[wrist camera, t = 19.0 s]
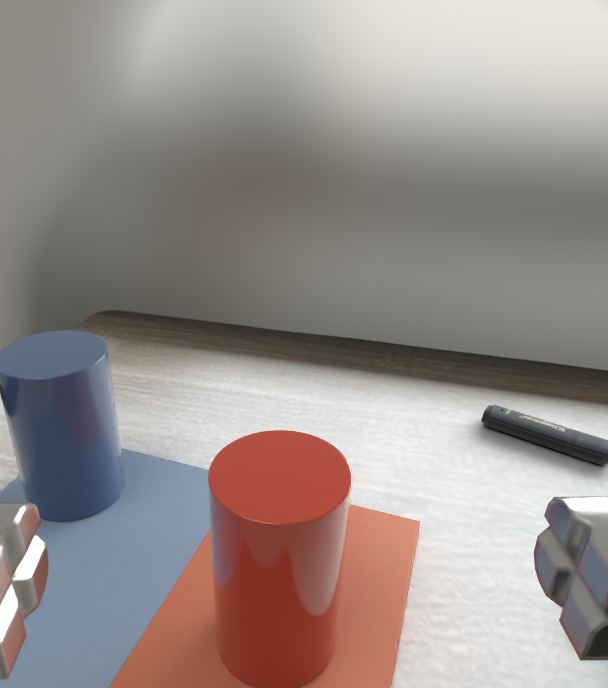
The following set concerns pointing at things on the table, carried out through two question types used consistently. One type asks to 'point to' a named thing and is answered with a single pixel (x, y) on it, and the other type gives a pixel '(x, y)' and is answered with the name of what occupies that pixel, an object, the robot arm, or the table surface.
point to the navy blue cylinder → (63, 423)
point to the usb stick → (547, 434)
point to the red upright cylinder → (278, 555)
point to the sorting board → (187, 592)
